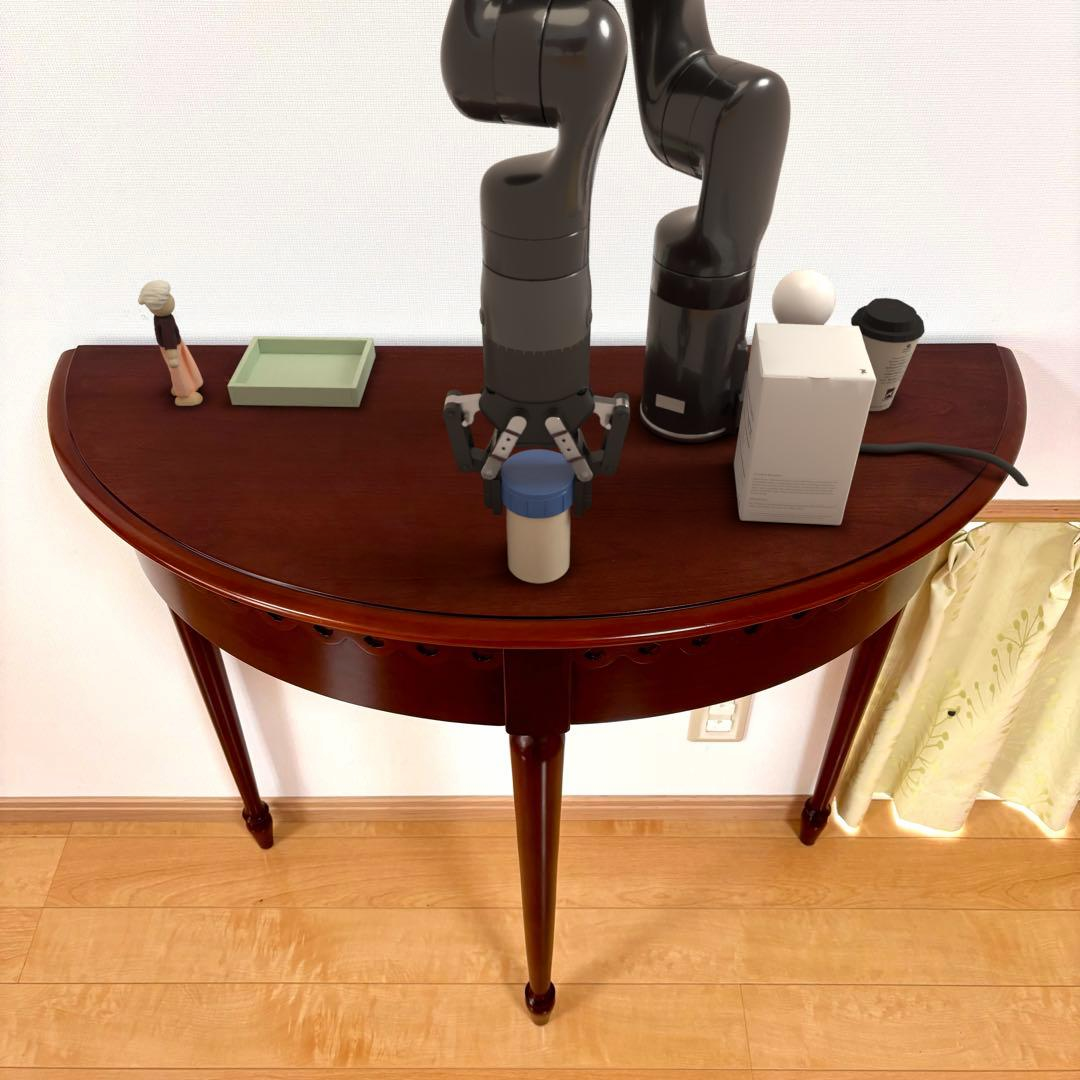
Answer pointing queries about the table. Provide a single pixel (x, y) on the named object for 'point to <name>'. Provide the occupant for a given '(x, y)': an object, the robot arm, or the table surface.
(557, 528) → the jar
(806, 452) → the rectangular carton
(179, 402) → the grandmother figurine
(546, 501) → the lid
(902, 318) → the coffee cup
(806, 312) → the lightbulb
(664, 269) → the robot arm
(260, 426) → the table surface
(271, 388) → the tray
